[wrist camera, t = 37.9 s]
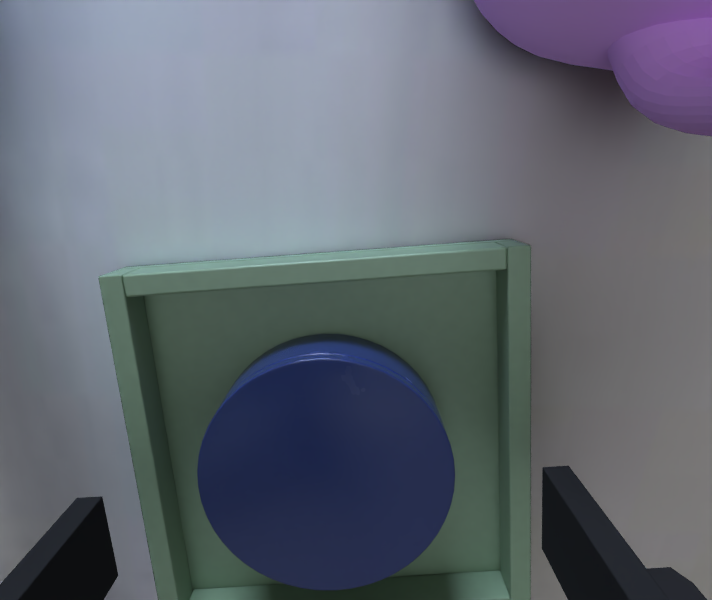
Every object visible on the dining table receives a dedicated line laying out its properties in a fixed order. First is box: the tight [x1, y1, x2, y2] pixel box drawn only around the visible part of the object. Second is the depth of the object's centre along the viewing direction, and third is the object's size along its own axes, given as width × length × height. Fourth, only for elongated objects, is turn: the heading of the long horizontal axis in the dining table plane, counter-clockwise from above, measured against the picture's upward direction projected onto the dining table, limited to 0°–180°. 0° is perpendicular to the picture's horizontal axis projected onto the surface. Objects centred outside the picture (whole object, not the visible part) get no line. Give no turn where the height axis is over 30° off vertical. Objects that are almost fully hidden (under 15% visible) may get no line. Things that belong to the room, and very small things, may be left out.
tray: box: [99, 239, 531, 600], centre depth 20 cm, size 15×15×2 cm
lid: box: [197, 334, 455, 591], centre depth 19 cm, size 9×9×3 cm
